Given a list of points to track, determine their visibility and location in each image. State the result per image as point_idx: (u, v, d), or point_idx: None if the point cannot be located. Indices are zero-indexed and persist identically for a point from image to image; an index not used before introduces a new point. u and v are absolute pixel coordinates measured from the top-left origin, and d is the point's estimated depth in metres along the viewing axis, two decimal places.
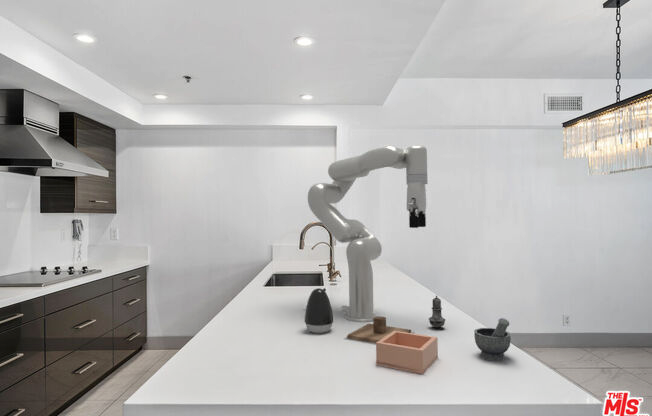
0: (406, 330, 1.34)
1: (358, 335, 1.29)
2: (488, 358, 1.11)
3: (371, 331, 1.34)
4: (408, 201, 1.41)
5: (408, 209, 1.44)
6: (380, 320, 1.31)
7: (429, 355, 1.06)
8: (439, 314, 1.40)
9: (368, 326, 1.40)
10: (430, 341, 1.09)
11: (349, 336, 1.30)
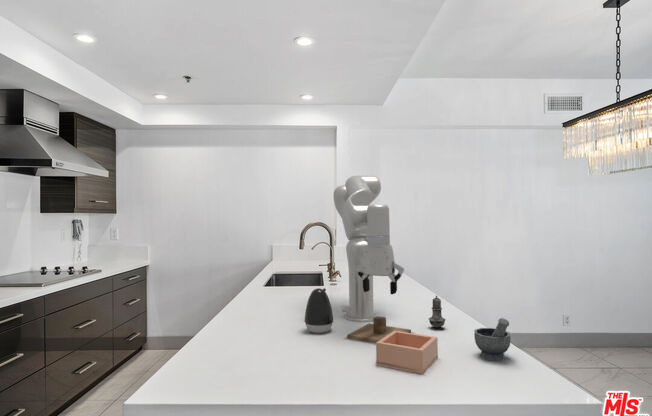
0: (406, 330, 1.34)
1: (358, 335, 1.29)
2: (488, 358, 1.11)
3: (371, 331, 1.34)
4: (391, 265, 1.29)
5: None
6: (380, 320, 1.31)
7: (429, 355, 1.06)
8: (439, 314, 1.40)
9: (368, 326, 1.40)
10: (430, 341, 1.09)
11: (349, 336, 1.30)
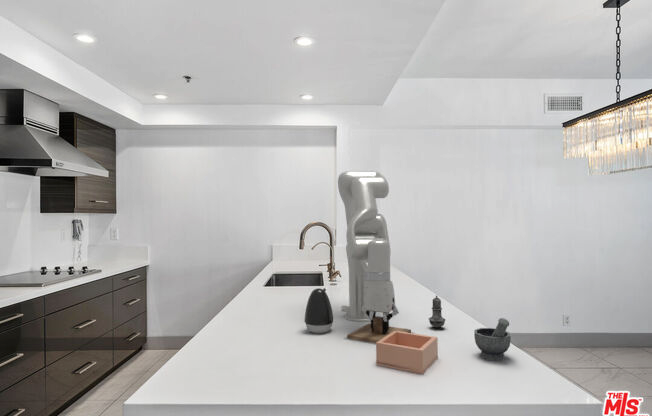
0: (406, 330, 1.34)
1: (358, 335, 1.29)
2: (488, 358, 1.11)
3: (371, 331, 1.34)
4: (391, 302, 1.29)
5: None
6: (380, 320, 1.31)
7: (429, 355, 1.06)
8: (439, 314, 1.40)
9: (368, 326, 1.40)
10: (430, 341, 1.09)
11: (349, 336, 1.30)
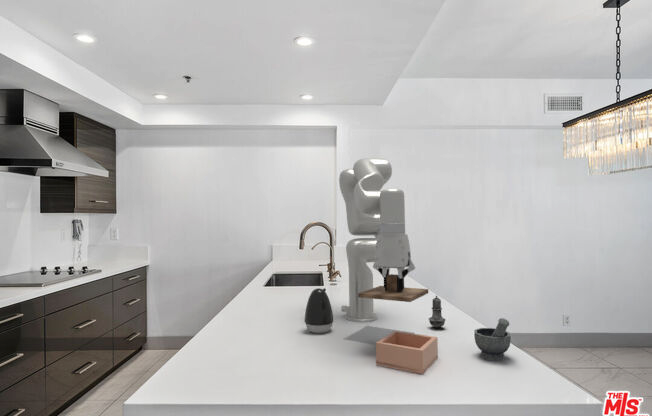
0: (423, 289, 1.21)
1: (370, 293, 1.16)
2: (488, 358, 1.11)
3: (384, 290, 1.21)
4: (406, 256, 1.16)
5: None
6: (394, 277, 1.18)
7: (429, 355, 1.06)
8: (439, 314, 1.40)
9: (381, 287, 1.27)
10: (430, 341, 1.09)
11: (360, 294, 1.17)
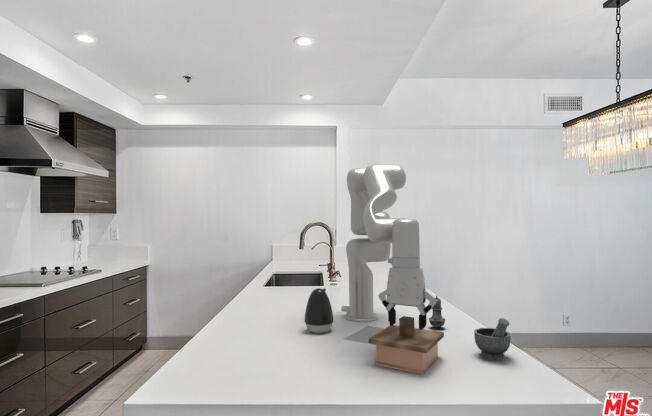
0: (439, 333, 1.12)
1: (381, 339, 1.07)
2: (488, 358, 1.11)
3: (396, 334, 1.11)
4: (422, 294, 1.06)
5: None
6: (408, 321, 1.09)
7: (429, 355, 1.06)
8: (439, 314, 1.40)
9: (392, 328, 1.18)
10: None
11: (371, 340, 1.07)
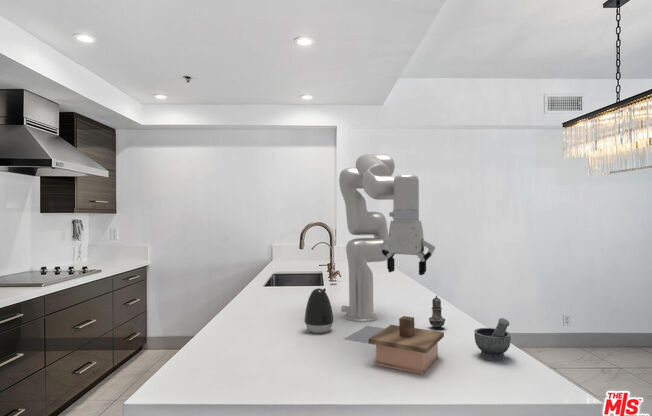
0: (439, 333, 1.12)
1: (381, 339, 1.07)
2: (488, 358, 1.11)
3: (396, 334, 1.11)
4: (420, 243, 1.15)
5: (411, 252, 1.16)
6: (408, 321, 1.09)
7: (429, 355, 1.06)
8: (439, 314, 1.40)
9: (392, 328, 1.18)
10: None
11: (371, 340, 1.07)
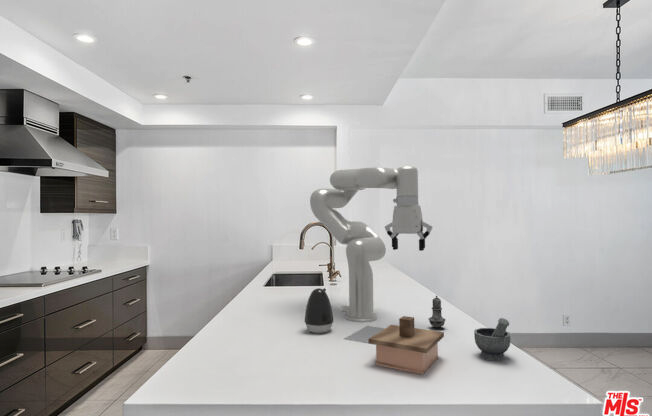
0: (439, 333, 1.12)
1: (381, 339, 1.07)
2: (488, 358, 1.11)
3: (396, 334, 1.11)
4: (419, 223, 1.37)
5: None
6: (408, 321, 1.09)
7: (429, 355, 1.06)
8: (439, 314, 1.40)
9: (392, 328, 1.18)
10: None
11: (371, 340, 1.07)
